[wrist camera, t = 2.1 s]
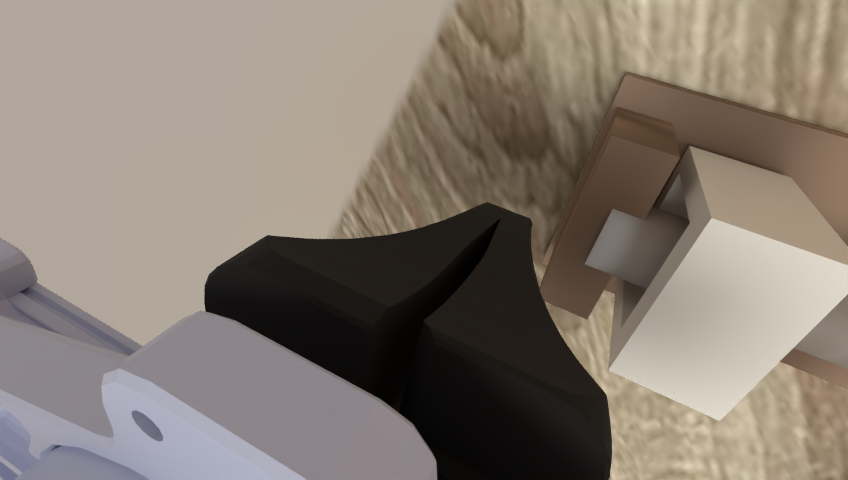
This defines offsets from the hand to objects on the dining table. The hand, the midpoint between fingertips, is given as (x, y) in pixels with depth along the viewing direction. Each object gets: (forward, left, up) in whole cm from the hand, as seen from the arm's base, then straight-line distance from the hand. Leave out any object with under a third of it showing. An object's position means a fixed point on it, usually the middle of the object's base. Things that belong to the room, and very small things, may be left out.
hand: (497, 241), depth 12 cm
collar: (+6, 0, -6) cm, 8 cm away
